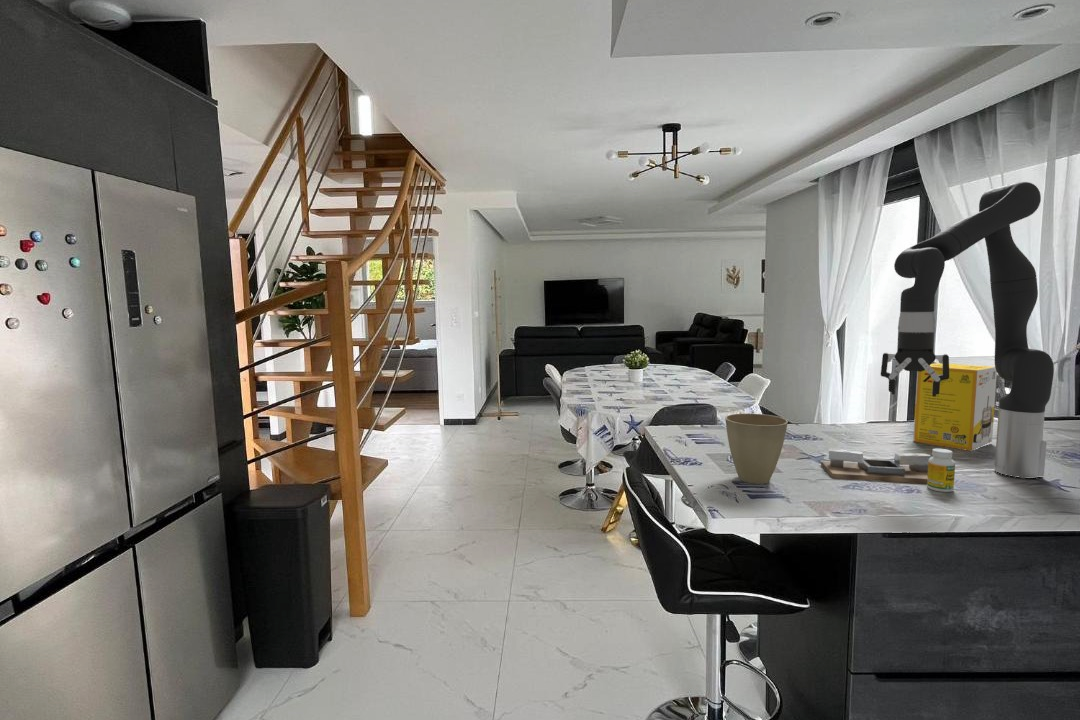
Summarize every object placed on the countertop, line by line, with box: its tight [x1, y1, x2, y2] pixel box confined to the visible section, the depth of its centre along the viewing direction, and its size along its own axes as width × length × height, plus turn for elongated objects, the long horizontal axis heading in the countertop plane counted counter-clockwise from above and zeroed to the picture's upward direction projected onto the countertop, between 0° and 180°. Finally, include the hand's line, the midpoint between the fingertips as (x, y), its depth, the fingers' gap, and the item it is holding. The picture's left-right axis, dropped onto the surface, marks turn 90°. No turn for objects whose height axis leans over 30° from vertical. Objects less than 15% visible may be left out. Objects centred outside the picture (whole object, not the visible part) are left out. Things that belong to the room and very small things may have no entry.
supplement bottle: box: [926, 448, 956, 493], centre depth 138 cm, size 5×5×10 cm
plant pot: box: [724, 412, 789, 485], centre depth 146 cm, size 15×15×16 cm
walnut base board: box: [820, 461, 928, 485], centre depth 151 cm, size 26×12×1 cm, turn 77°
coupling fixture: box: [828, 448, 932, 476], centre depth 151 cm, size 24×9×4 cm, turn 77°
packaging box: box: [912, 362, 998, 451], centre depth 184 cm, size 16×16×25 cm
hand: (913, 395), depth 143 cm, fingers open, 8 cm apart
